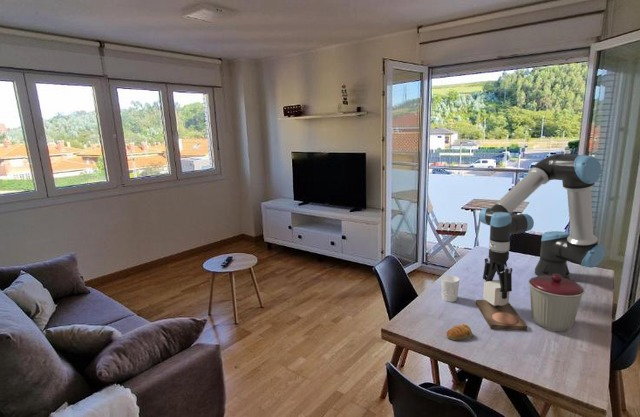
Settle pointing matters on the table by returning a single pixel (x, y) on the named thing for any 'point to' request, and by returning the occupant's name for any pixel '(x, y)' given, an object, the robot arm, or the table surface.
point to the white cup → (449, 287)
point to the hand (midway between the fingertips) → (495, 300)
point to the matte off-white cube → (493, 292)
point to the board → (501, 316)
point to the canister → (554, 301)
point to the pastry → (459, 332)
